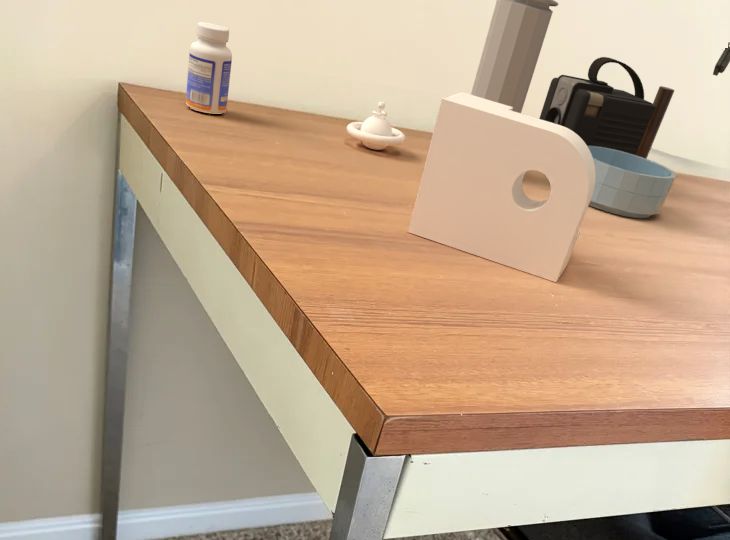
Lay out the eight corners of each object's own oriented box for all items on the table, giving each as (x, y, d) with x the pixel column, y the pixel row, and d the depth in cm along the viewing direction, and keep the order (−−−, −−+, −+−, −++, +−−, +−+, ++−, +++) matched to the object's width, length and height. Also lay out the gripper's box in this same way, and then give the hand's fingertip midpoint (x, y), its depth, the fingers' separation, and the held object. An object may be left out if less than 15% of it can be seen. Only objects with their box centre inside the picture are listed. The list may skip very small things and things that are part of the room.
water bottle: (505, 179, 112) (574, -41, 97) (449, 165, 112) (510, -57, 97) (504, 164, 119) (569, -43, 104) (451, 151, 119) (508, -58, 104)
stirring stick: (635, 164, 140) (666, 86, 132) (651, 172, 137) (684, 93, 130) (618, 162, 138) (649, 83, 131) (634, 170, 135) (667, 90, 128)
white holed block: (407, 232, 85) (441, 98, 77) (436, 211, 93) (470, 88, 85) (555, 282, 82) (606, 148, 74) (572, 256, 90) (620, 133, 82)
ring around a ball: (408, 160, 109) (395, 144, 115) (417, 113, 106) (404, 99, 112) (349, 152, 108) (340, 136, 114) (357, 104, 104) (347, 90, 110)
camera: (518, 152, 128) (553, 42, 119) (591, 162, 133) (629, 58, 124) (553, 174, 121) (593, 59, 112) (629, 184, 126) (673, 75, 117)
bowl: (613, 189, 121) (629, 149, 118) (677, 222, 112) (696, 180, 109) (545, 183, 115) (559, 142, 112) (607, 218, 106) (625, 174, 103)
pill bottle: (214, 105, 112) (223, 23, 107) (233, 117, 109) (242, 33, 103) (178, 102, 110) (184, 18, 104) (195, 114, 106) (203, 28, 100)
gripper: (699, -45, 136) (652, 34, 135) (786, -24, 131) (738, 58, 130) (691, -6, 143) (646, 70, 142) (773, 15, 139) (728, 93, 137)
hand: (690, 64), depth 136 cm, fingers open, 8 cm apart
